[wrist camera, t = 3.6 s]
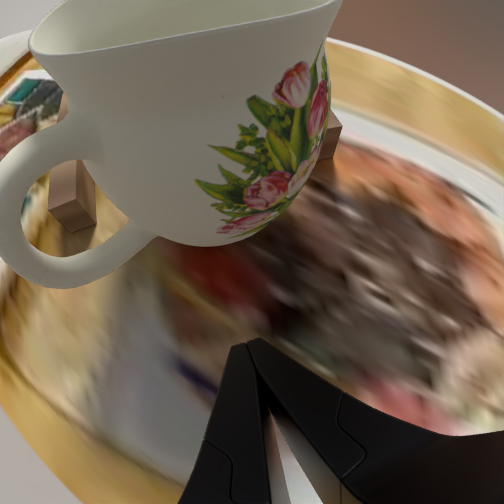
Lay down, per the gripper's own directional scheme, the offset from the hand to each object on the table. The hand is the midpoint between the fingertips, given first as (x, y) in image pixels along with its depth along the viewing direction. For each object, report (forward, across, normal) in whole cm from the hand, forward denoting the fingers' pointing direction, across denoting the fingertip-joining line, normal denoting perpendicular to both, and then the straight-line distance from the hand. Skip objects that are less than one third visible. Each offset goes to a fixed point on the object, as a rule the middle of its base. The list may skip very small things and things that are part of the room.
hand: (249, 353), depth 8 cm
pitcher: (+12, 0, -2) cm, 12 cm away
